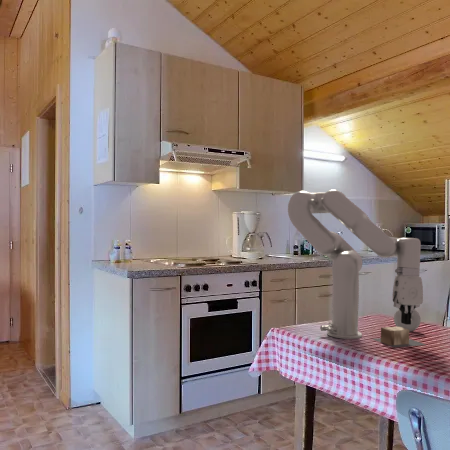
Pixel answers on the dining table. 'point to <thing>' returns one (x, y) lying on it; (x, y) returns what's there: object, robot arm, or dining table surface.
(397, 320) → the donut
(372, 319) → the dining table surface
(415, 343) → the mat
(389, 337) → the tall block
